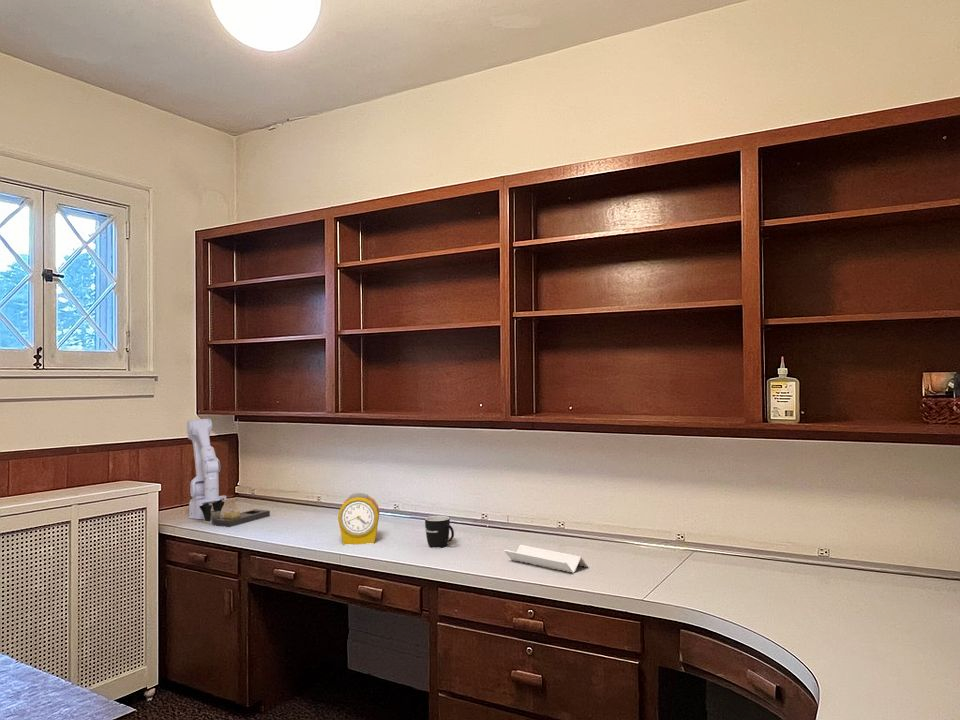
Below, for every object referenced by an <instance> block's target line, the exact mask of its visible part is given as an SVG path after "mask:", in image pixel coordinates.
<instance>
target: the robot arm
mask: <svg viewBox="0 0 960 720" xmlns="http://www.w3.org/2000/svg"><path fill="white" fill-rule="evenodd" d="M212 429H213V421H212V420H211V418H199V419H190V418H189V419H188V420H187V421H186V433H187V439H188V440H191V442H192V447H193V448H192V449H193V457H194V466H195V467H194V468H195V475H196V476H195V477H193V479H191V481H190V483H189V484H190V485H189V486H190V487H189V491H190V496H191V499H190V500H189V504H188V507H189V509H188V510H189V511H188V513H189V515H188V517H187V518H188V519H196V520H204V518H205V521H210V512H211V510H216V511H220V513H222V509H223V507H224V505H225V501H227V495H219V494H220V491H219V488H220V485H219V473H220V472H221V462H220V460H219V458H218V457H217V455H216V451H215V448H214V447H213V446H211V440H210V435H211V432H212Z"/></svg>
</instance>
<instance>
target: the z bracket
mask: <svg viewBox="0 0 960 720" xmlns="http://www.w3.org/2000/svg"><path fill="white" fill-rule="evenodd" d="M503 552H504V553H505V554H506V555H507V556H508V557H509V558H510V560H511V561H513V560H516V561H515V562H517V561H521V562H520V563H522V562H525V563H524V564H527V563H530V564H529V565H531V564H534V565H533V566H536V565H539V566H538V567H540V566H544V567H543V568H545V567H549V568H548V569H550V568H553V569H552V570H554V569H558V570H557V571H559V570H563V571H567V572H566V573H568V572H572V573H571V574H574V573H573V572H576V570H577V569H578V567H582V566H584V567H583V568H587V567H589V565H588V564H587V563H586V560H584V559H583V557H582V556H580V555H575V554H570V553H563V552H559V551H556V550H555V551H554V550H549V549H545V548H541V547H540V548H539V547H534V546H529V545H524V544H519V546H518V548H517V550H516V551H513V550H509V549H503ZM578 565H579V566H578ZM563 571H562V572H563Z"/></svg>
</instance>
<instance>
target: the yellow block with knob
mask: <svg viewBox="0 0 960 720" xmlns="http://www.w3.org/2000/svg"><path fill="white" fill-rule="evenodd" d="M240 513H241V511H238V510H229V511H224V512H223V517H224V519H231V520H232V519H236V518H240Z"/></svg>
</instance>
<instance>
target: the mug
mask: <svg viewBox="0 0 960 720" xmlns="http://www.w3.org/2000/svg"><path fill="white" fill-rule="evenodd" d="M450 520H451V519H450V517H449V516H446V515H431V516H430V515H429V516H427V517H426V518H425V519H424V527H425V536H426V540H427V544H428V546H429V548H432V547H442V548H445V547H447V545H448V543H450V542H452V541H453V539H454V536H455V531H454V528H453V527H452V525H451V523H450ZM450 535H451V536H450ZM449 537H450V538H449Z"/></svg>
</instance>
